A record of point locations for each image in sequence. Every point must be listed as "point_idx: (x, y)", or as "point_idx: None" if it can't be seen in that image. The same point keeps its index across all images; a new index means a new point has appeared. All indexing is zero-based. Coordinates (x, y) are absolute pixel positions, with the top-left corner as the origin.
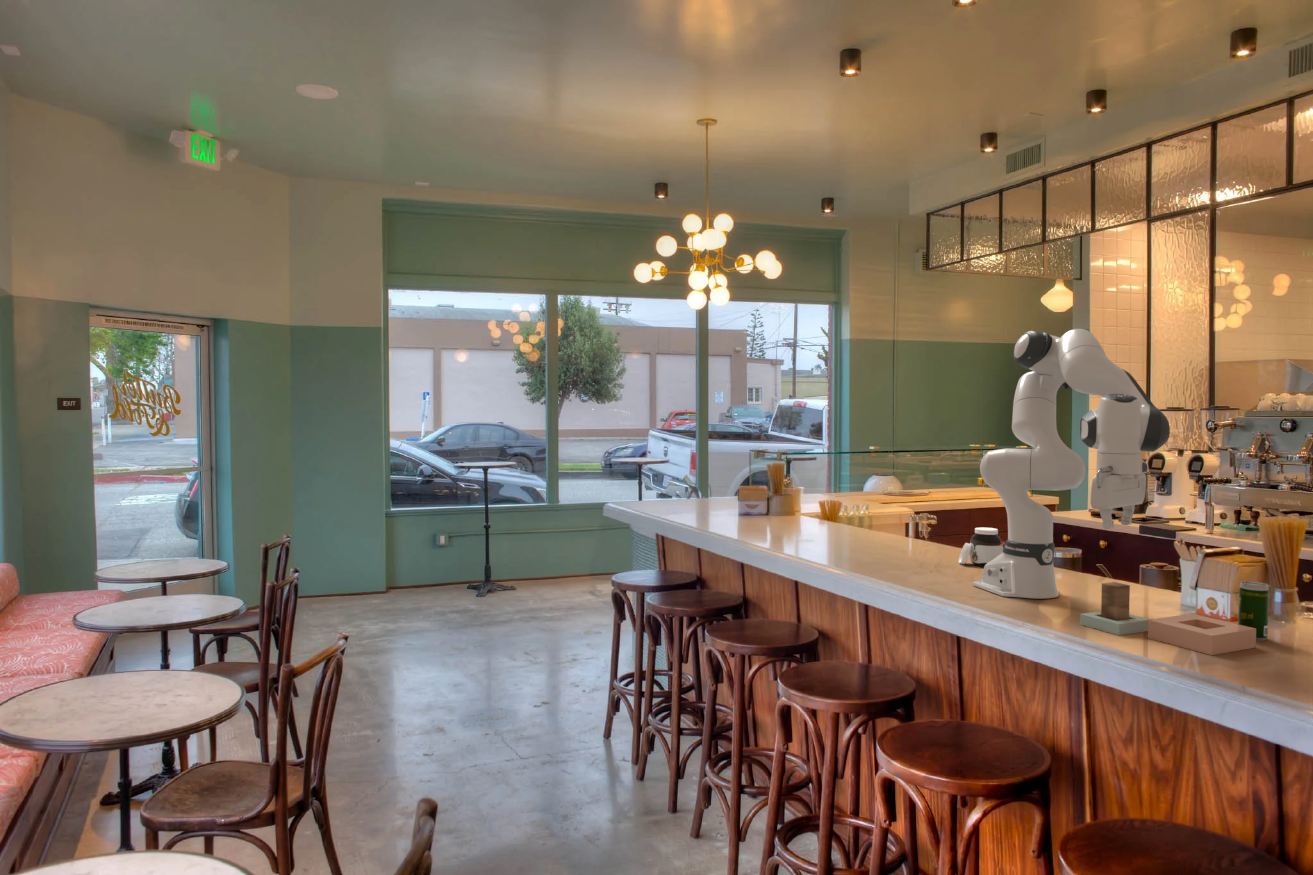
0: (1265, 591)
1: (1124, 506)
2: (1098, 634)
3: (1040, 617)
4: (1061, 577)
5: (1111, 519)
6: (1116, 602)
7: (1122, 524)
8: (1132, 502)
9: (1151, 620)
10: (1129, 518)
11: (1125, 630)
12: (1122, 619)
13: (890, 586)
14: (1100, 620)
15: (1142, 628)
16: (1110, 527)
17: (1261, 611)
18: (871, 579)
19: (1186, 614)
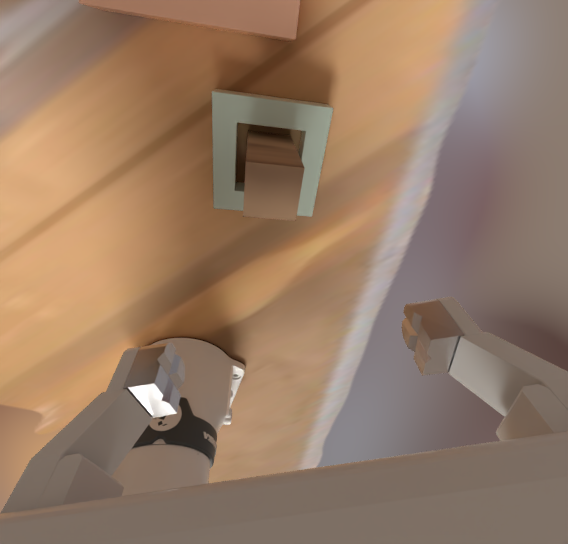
0: None
1: (314, 469)
2: (355, 136)
3: (318, 271)
4: (37, 408)
5: (486, 341)
6: (298, 154)
7: (182, 362)
8: (108, 540)
9: (296, 27)
10: (147, 379)
11: (306, 102)
12: (272, 138)
13: (327, 429)
14: (321, 164)
15: (243, 93)
16: (453, 299)
17: None
18: (313, 449)
19: (110, 6)
